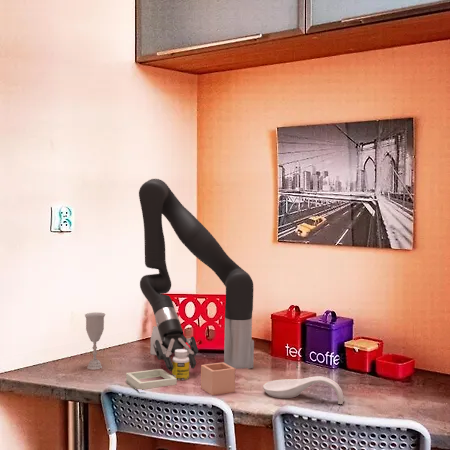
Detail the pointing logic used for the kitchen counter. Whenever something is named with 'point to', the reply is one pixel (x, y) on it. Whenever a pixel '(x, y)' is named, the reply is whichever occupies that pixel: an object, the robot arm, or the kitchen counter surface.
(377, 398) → the kitchen counter surface
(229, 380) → the tan open box
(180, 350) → the supplement bottle
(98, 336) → the chalice
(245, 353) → the robot arm
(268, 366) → the kitchen counter surface
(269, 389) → the spoon rest
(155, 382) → the tray
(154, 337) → the tea bag
